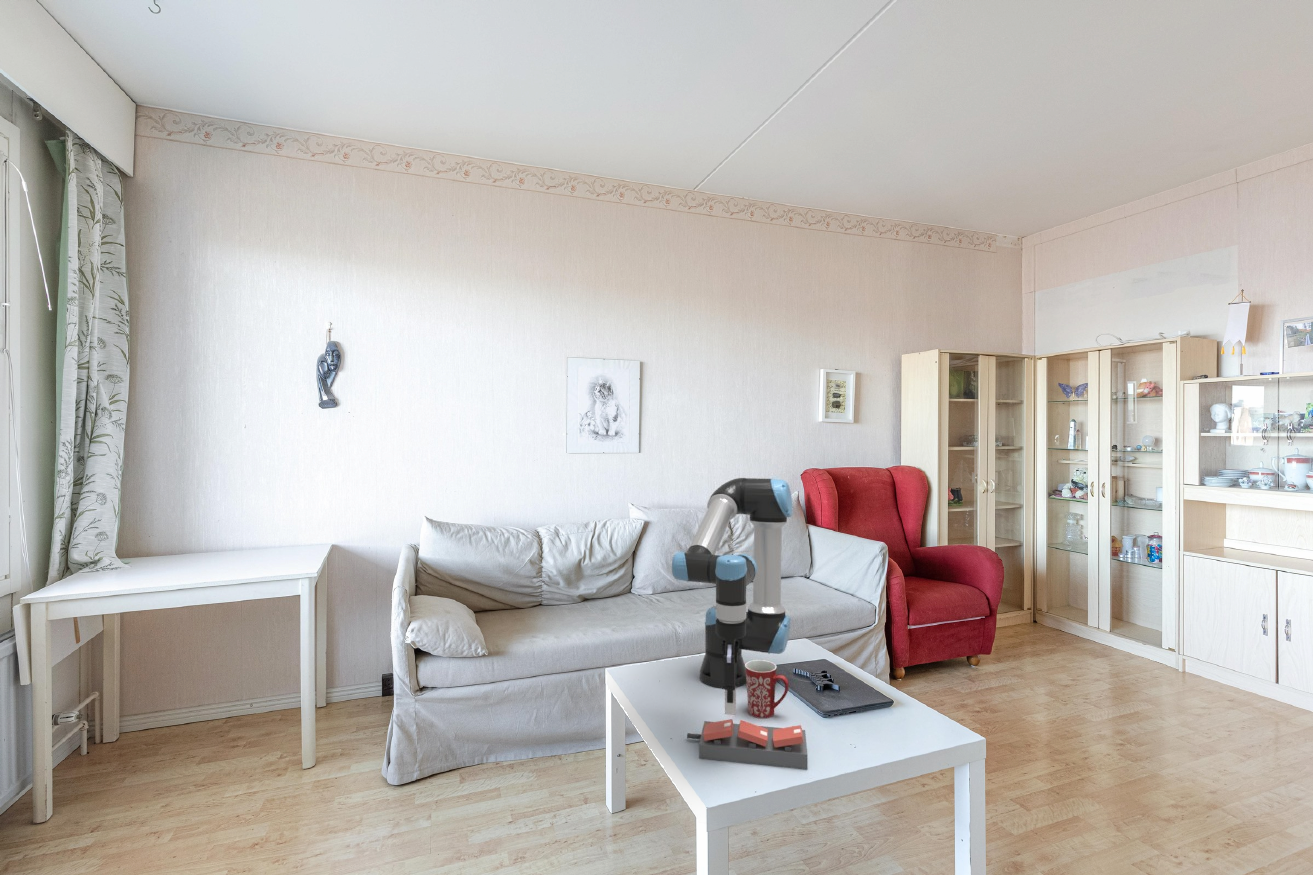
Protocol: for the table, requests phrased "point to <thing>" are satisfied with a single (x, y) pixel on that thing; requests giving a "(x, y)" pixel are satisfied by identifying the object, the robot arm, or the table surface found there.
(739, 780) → the table surface
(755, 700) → the mug
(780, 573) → the robot arm
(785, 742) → the block
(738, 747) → the power strip
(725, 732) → the rocker
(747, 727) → the red box
